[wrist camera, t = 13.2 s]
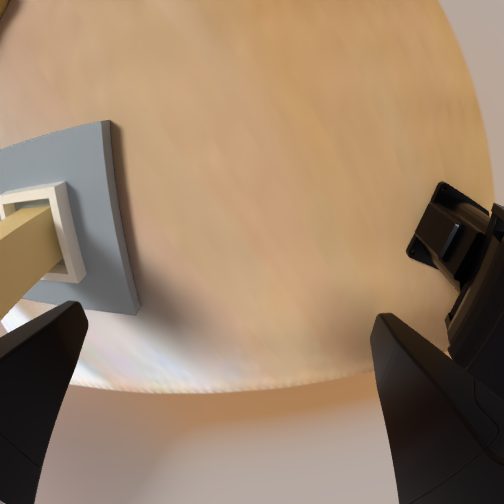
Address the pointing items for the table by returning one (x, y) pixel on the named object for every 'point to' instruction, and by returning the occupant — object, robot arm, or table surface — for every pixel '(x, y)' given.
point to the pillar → (26, 252)
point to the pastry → (3, 6)
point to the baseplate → (74, 215)
